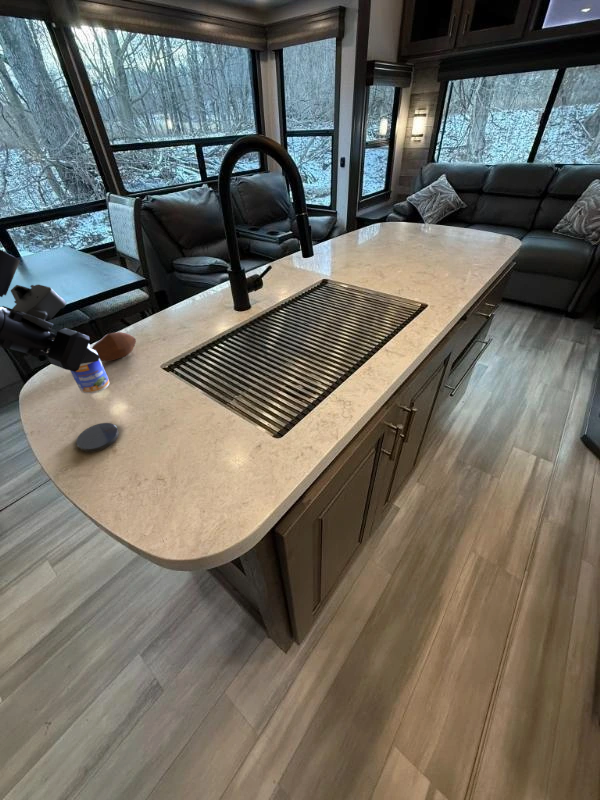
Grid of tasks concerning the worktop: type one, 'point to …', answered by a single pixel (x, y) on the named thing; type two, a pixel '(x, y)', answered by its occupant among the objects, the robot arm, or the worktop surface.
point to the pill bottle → (91, 376)
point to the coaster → (97, 437)
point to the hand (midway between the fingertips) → (88, 355)
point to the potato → (114, 346)
